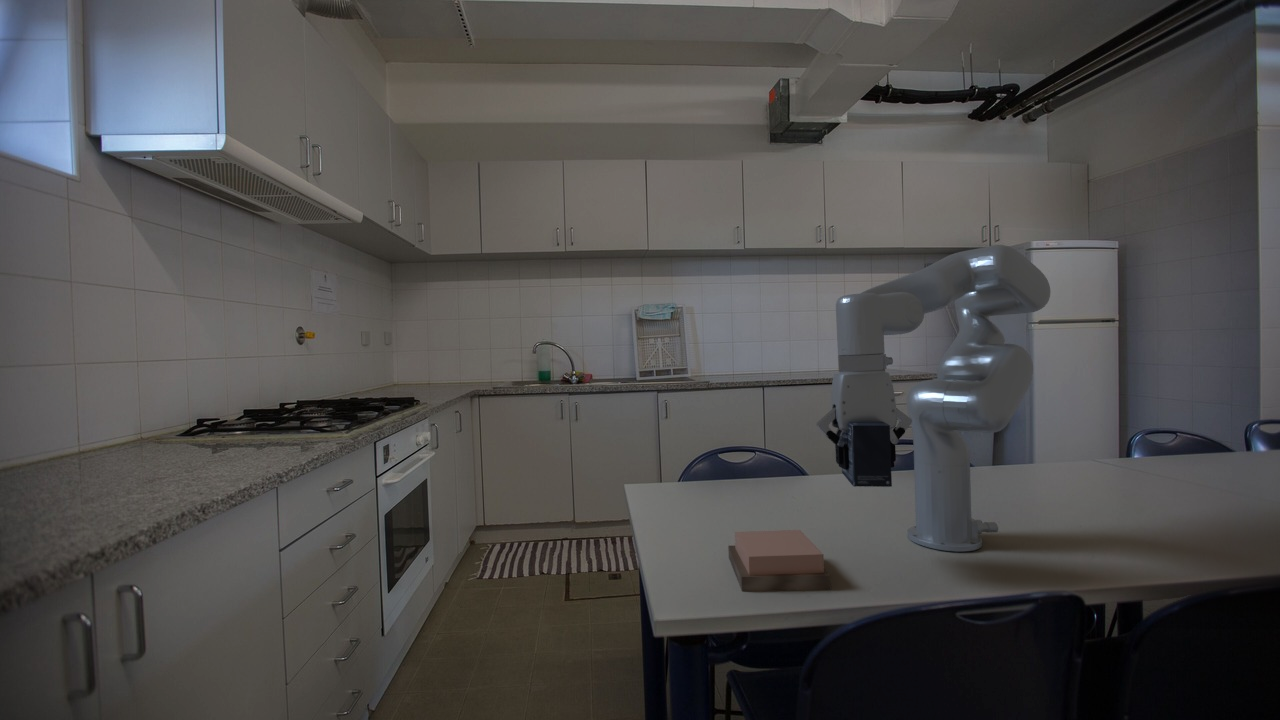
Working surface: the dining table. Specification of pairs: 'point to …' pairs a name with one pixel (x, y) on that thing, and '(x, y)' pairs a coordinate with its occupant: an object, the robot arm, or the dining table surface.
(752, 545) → the terracotta slab
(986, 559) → the dining table surface
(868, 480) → the small box
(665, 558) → the dining table surface
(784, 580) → the walnut slab
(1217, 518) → the dining table surface
